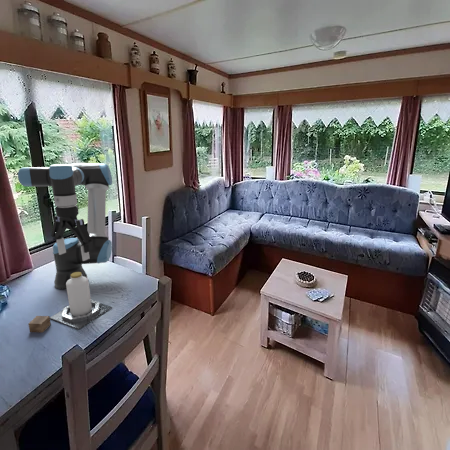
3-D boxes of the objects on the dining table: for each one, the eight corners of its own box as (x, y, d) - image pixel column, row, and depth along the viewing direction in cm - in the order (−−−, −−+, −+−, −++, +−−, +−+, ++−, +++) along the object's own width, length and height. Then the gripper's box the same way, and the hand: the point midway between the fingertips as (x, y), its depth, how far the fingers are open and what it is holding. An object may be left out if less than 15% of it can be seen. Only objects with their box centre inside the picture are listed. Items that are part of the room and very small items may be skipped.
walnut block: (30, 332, 106) (28, 323, 105) (38, 324, 111) (36, 315, 110) (43, 332, 106) (41, 323, 105) (50, 324, 111) (49, 316, 110)
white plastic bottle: (75, 306, 122) (70, 269, 117) (95, 306, 123) (90, 269, 118) (67, 318, 114) (60, 278, 109) (87, 317, 115) (82, 278, 110)
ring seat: (49, 318, 114) (48, 314, 114) (84, 298, 129) (83, 294, 129) (78, 330, 108) (78, 325, 107) (111, 307, 123) (111, 303, 122)
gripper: (35, 203, 107) (44, 254, 113) (81, 211, 97) (88, 266, 104) (53, 200, 113) (61, 248, 120) (98, 207, 104) (104, 258, 110)
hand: (74, 256), depth 112 cm, fingers open, 13 cm apart
